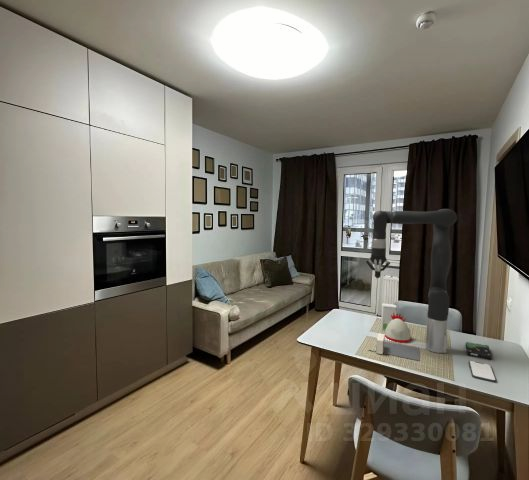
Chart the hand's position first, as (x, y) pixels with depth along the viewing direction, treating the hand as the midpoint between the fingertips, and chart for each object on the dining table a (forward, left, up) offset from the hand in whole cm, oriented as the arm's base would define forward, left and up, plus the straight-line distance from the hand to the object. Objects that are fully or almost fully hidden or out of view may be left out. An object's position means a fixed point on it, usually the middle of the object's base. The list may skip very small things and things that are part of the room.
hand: (377, 277), depth 162 cm
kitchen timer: (-11, -13, -37) cm, 41 cm away
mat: (-10, +5, -37) cm, 39 cm away
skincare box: (-5, -26, -37) cm, 46 cm away
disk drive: (-50, -13, -38) cm, 64 cm away
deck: (-4, +5, -33) cm, 34 cm away
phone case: (-47, +11, -38) cm, 62 cm away
